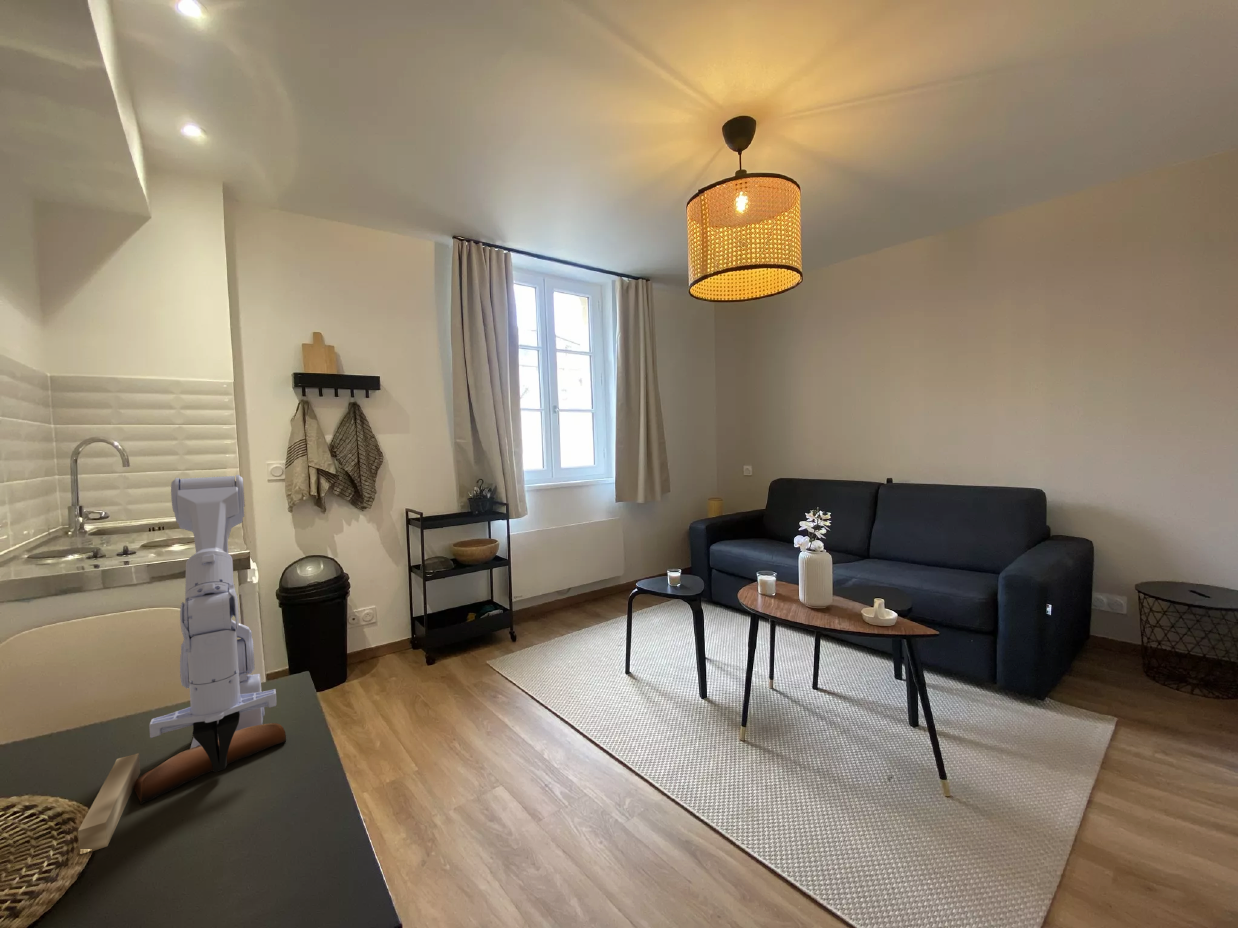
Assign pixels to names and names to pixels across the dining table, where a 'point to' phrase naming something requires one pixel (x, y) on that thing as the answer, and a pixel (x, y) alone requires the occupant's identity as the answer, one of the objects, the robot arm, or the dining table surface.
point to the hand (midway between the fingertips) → (220, 767)
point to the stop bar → (109, 804)
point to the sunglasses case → (205, 760)
